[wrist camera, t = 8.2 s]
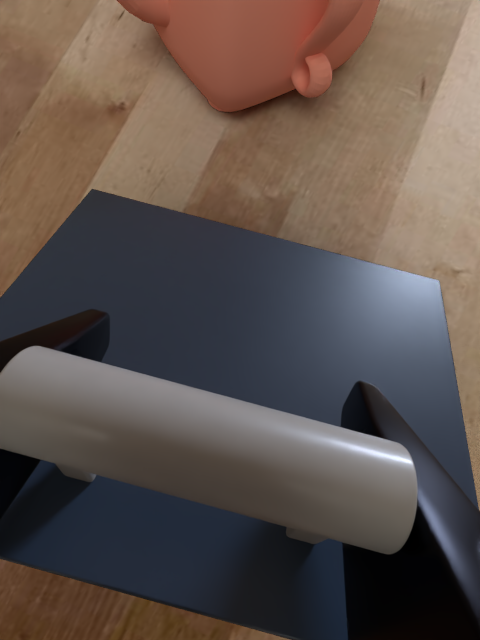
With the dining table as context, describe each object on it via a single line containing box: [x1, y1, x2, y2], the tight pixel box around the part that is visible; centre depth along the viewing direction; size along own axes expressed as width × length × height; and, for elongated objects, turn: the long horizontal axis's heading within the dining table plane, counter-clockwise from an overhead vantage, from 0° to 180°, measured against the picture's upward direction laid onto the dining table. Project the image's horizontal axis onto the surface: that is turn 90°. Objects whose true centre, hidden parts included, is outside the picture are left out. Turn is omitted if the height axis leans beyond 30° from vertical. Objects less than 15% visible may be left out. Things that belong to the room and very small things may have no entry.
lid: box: [0, 189, 479, 640], centre depth 9 cm, size 11×14×5 cm
